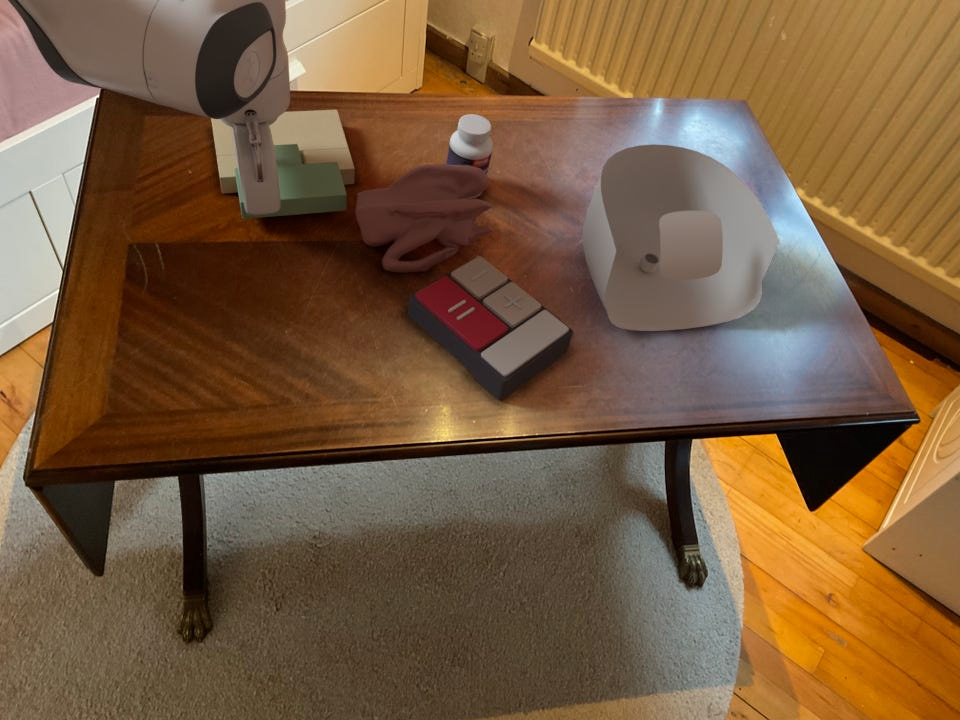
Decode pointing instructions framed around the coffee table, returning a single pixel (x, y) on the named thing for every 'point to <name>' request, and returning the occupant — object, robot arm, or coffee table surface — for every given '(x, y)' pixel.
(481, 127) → the pill bottle
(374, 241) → the figurine
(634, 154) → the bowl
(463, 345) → the calculator
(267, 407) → the coffee table surface
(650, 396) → the coffee table surface
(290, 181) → the green pad
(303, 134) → the beige pad
